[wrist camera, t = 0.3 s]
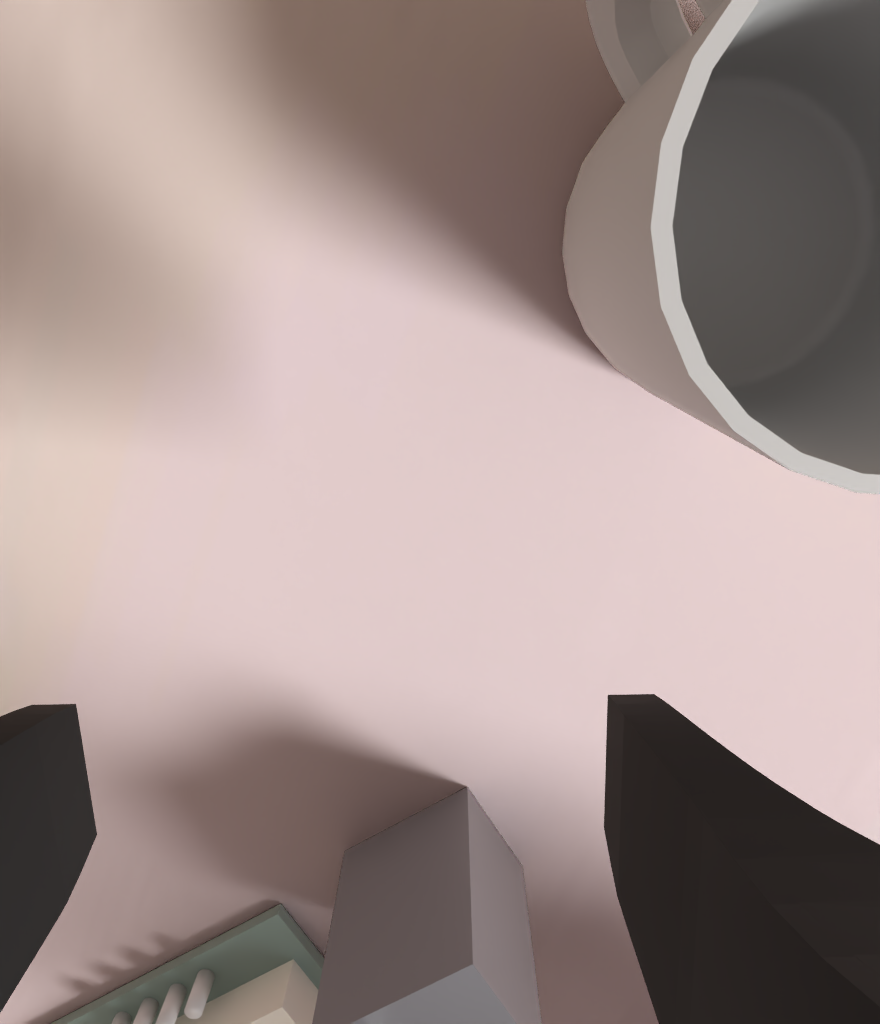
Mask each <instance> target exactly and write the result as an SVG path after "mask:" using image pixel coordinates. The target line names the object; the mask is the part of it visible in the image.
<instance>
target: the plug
mask: <svg viewBox="0 0 880 1024" xmlns="http://www.w3.org/2000/svg"><path fill="white" fill-rule="evenodd" d="M312 1024H542V1022H541V1013H540V1005H539V997H538V989H537V980H536V972H535V964H534V956H533V947H532V939H531V931H530V923H529V914H528V906H527V898H526V890H525V881H524V873H523V866H522V865H521V863H520V862H519V861H518V859H517V858H516V856H515V855H514V853H513V852H512V850H511V849H510V848H509V846H508V845H507V843H506V842H505V840H504V839H503V837H502V836H501V835H500V833H499V832H498V830H497V829H496V827H495V826H494V824H493V823H492V821H491V820H490V819H489V817H488V816H487V814H486V813H485V811H484V810H483V808H482V807H481V806H480V804H479V803H478V801H477V800H476V798H475V797H474V795H473V794H472V793H471V791H470V790H469V788H468V787H466V788H464V789H462V790H460V791H458V792H456V793H454V794H453V795H451V796H449V797H447V798H445V799H443V800H441V801H439V802H437V803H435V804H433V805H432V806H430V807H428V808H426V809H424V810H422V811H420V812H418V813H416V814H414V815H413V816H411V817H409V818H407V819H405V820H403V821H401V822H399V823H397V824H395V825H394V826H392V827H390V828H388V829H386V830H384V831H382V832H380V833H378V834H376V835H374V836H373V837H371V838H369V839H367V840H365V841H363V842H361V843H359V844H357V845H355V846H354V847H352V848H350V849H348V850H346V851H345V852H344V857H343V862H342V868H341V873H340V878H339V884H338V889H337V894H336V900H335V905H334V910H333V916H332V921H331V926H330V931H329V937H328V942H327V947H326V953H325V958H324V963H323V969H322V974H321V979H320V985H319V990H318V995H317V1000H316V1006H315V1011H314V1016H313V1022H312Z"/></svg>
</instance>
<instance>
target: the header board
mask: <svg viewBox="0 0 880 1024" xmlns="http://www.w3.org/2000/svg"><path fill="white" fill-rule="evenodd" d="M323 963H324V958H323V956H322V955H321V954H320V953H319V951H318V950H317V949H316V947H315V946H314V945H313V944H312V942H311V941H310V940H309V939H308V937H307V936H306V935H305V934H304V932H303V931H302V930H301V929H300V927H299V926H298V925H297V924H296V922H295V921H294V920H293V918H292V917H291V916H290V915H289V913H288V912H287V911H286V910H285V908H284V907H283V906H282V905H281V904H279V905H277V906H275V907H273V908H272V909H270V910H268V911H266V912H264V913H262V914H260V915H258V916H256V917H254V918H252V919H250V920H248V921H247V922H245V923H243V924H241V925H239V926H237V927H235V928H233V929H231V930H229V931H227V932H225V933H224V934H222V935H220V936H218V937H216V938H214V939H212V940H210V941H208V942H206V943H204V944H202V945H201V946H199V947H197V948H195V949H193V950H191V951H189V952H187V953H185V954H183V955H181V956H179V957H177V958H176V959H174V960H172V961H170V962H168V963H166V964H164V965H162V966H160V967H158V968H156V969H154V970H153V971H151V972H149V973H147V974H145V975H143V976H141V977H139V978H137V979H135V980H133V981H131V982H129V983H128V984H126V985H124V986H122V987H120V988H118V989H116V990H114V991H112V992H110V993H108V994H106V995H105V996H103V997H101V998H99V999H97V1000H95V1001H93V1002H91V1003H89V1004H87V1005H85V1006H83V1007H82V1008H80V1009H78V1010H76V1011H74V1012H72V1013H70V1014H68V1015H66V1016H64V1017H62V1018H60V1019H58V1020H57V1021H55V1022H53V1023H51V1024H312V1022H313V1016H314V1011H315V1006H316V1000H317V995H318V990H319V985H320V979H321V974H322V969H323Z"/></svg>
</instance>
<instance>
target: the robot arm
mask: <svg viewBox="0 0 880 1024" xmlns="http://www.w3.org/2000/svg"><path fill="white" fill-rule="evenodd" d="M604 830H605V835H606V840H607V846H608V851H609V856H610V862H611V867H612V872H613V877H614V882H615V886H616V891H617V896H618V900H619V903H620V906H621V909H622V912H623V915H624V919H625V922H626V925H627V928H628V931H629V934H630V937H631V940H632V943H633V946H634V949H635V952H636V955H637V958H638V961H639V964H640V968H641V971H642V974H643V977H644V980H645V983H646V986H647V989H648V992H649V995H650V998H651V1001H652V1004H653V1007H654V1010H655V1013H656V1016H657V1019H658V1022H659V1024H880V845H879V844H877V843H875V842H874V841H872V840H870V839H868V838H866V837H864V836H862V835H861V834H859V833H857V832H855V831H853V830H851V829H849V828H847V827H846V826H844V825H842V824H840V823H838V822H837V821H835V820H833V819H832V818H830V817H828V816H827V815H825V814H823V813H821V812H820V811H818V810H816V809H815V808H813V807H812V806H810V805H809V804H807V803H805V802H804V801H802V800H801V799H799V798H798V797H796V796H795V795H793V794H791V793H790V792H788V791H787V790H785V789H784V788H782V787H780V786H779V785H777V784H776V783H774V782H773V781H771V780H770V779H769V778H767V777H766V776H764V775H763V774H761V773H760V772H758V771H757V770H755V769H754V768H753V767H751V766H750V765H748V764H747V763H746V762H744V761H743V760H741V759H740V758H739V757H737V756H736V755H735V754H733V753H732V752H730V751H729V750H728V749H726V748H725V747H724V746H722V745H721V744H720V743H718V742H717V741H716V740H714V739H713V738H712V737H710V736H709V735H708V734H707V733H705V732H704V731H703V730H701V729H700V728H699V727H697V726H696V725H695V724H694V723H692V722H691V721H690V720H688V719H687V718H686V717H684V716H683V715H682V714H681V713H679V712H678V711H677V710H675V709H674V708H673V707H671V706H670V705H669V704H667V703H666V702H665V701H663V700H662V699H660V698H659V697H657V696H656V695H654V694H641V695H608V710H607V745H606V779H605V814H604ZM96 835H97V832H96V826H95V820H94V813H93V807H92V801H91V795H90V789H89V782H88V776H87V770H86V764H85V758H84V751H83V745H82V739H81V733H80V727H79V720H78V714H77V708H76V704H59V705H30V706H27V707H24V708H22V709H19V710H16V711H13V712H11V713H8V714H6V715H3V716H1V717H0V1012H1V1011H2V1009H3V1007H4V1006H5V1004H6V1003H7V1001H8V999H9V998H10V996H11V995H12V993H13V991H14V990H15V988H16V986H17V985H18V983H19V982H20V980H21V978H22V977H23V975H24V973H25V972H26V970H27V969H28V967H29V965H30V964H31V962H32V961H33V959H34V957H35V956H36V954H37V952H38V951H39V949H40V947H41V946H42V944H43V942H44V941H45V939H46V937H47V936H48V934H49V932H50V931H51V929H52V927H53V926H54V924H55V922H56V921H57V919H58V917H59V916H60V914H61V912H62V911H63V909H64V907H65V905H66V904H67V902H68V899H69V897H70V895H71V893H72V891H73V889H74V886H75V884H76V882H77V880H78V878H79V876H80V873H81V871H82V869H83V866H84V864H85V862H86V859H87V857H88V854H89V852H90V850H91V847H92V845H93V842H94V840H95V838H96Z"/></svg>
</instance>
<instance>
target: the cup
mask: <svg viewBox="0 0 880 1024" xmlns="http://www.w3.org/2000/svg"><path fill="white" fill-rule="evenodd" d="M695 1H696V3H697V4H698V6H699V8H700V10H701V12H702V13H703V15H704V17H705V20H704V21H703V23H702V24H701V25H700V27H699V28H698V29H697V31H696V32H695V33H694V34H693V33H692V31H691V29H690V27H689V25H688V23H687V21H686V19H685V17H684V14H683V12H682V9H681V6H680V4H679V1H678V0H585V2H586V8H587V13H588V18H589V21H590V25H591V28H592V31H593V35H594V38H595V42H596V45H597V47H598V50H599V52H600V54H601V56H602V59H603V61H604V63H605V65H606V68H607V70H608V72H609V74H610V76H611V78H612V80H613V82H614V84H615V86H616V87H617V89H618V91H619V93H620V95H621V97H622V99H623V100H624V102H625V103H624V104H623V106H622V107H621V109H620V110H619V111H618V113H617V114H616V115H615V116H614V118H613V119H612V120H611V121H610V123H609V124H608V125H607V127H606V128H605V129H604V131H603V132H602V134H601V135H600V137H599V138H598V140H597V141H596V143H595V144H594V146H593V147H592V149H591V150H590V152H589V153H588V155H587V156H586V157H585V159H584V161H583V163H582V165H581V167H580V170H579V173H578V176H577V179H576V182H575V185H574V187H573V190H572V193H571V196H570V199H569V202H568V204H567V207H566V216H565V226H564V236H563V246H562V256H563V263H564V269H565V275H566V282H567V288H568V294H569V297H570V299H571V302H572V304H573V306H574V308H575V311H576V313H577V315H578V318H579V320H580V322H581V324H582V327H583V329H584V331H585V333H586V335H587V336H588V337H589V338H590V339H591V341H592V342H593V343H594V344H595V345H596V347H597V348H598V349H599V350H600V352H601V353H602V354H603V355H604V356H605V358H606V359H607V360H608V361H609V362H610V364H611V365H612V366H613V367H614V368H615V369H616V370H618V371H619V372H621V373H622V374H623V375H625V376H626V377H628V378H629V379H631V380H632V381H633V382H635V383H636V384H638V385H639V386H641V387H642V388H644V389H645V390H646V391H648V392H649V393H651V394H653V395H655V396H656V397H658V398H660V399H662V400H664V401H665V402H667V403H669V404H671V405H673V406H674V407H676V408H678V409H680V410H682V411H683V412H685V413H687V414H689V415H691V416H693V417H694V418H696V419H698V420H700V421H702V422H703V423H705V424H707V425H709V426H711V427H712V428H714V429H716V430H718V431H720V432H721V433H723V434H725V435H727V436H729V437H731V438H732V439H734V440H736V441H738V442H740V443H741V444H743V445H745V446H747V447H749V448H750V449H752V450H754V451H756V452H758V453H759V454H761V455H763V456H765V457H767V458H768V459H770V460H772V461H774V462H776V463H778V464H779V465H781V466H783V467H785V468H787V469H788V470H790V471H793V472H796V473H799V474H802V475H805V476H808V477H811V478H814V479H817V480H820V481H823V482H826V483H829V484H832V485H835V486H838V487H840V488H843V489H846V490H849V491H852V492H855V493H867V494H880V0H695Z"/></svg>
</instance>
